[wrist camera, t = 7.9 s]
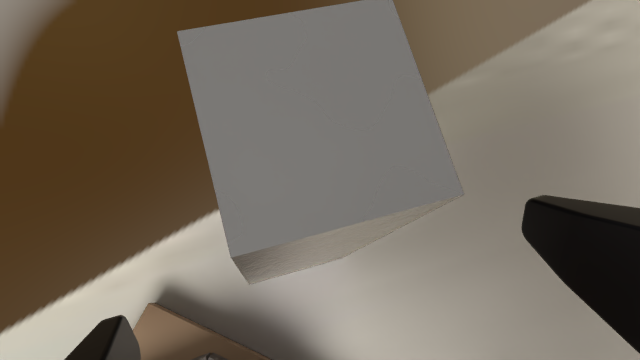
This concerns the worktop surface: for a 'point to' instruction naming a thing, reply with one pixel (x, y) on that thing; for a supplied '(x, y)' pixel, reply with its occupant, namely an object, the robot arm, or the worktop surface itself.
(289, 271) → the billet
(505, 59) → the worktop surface
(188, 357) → the brown flat square block
